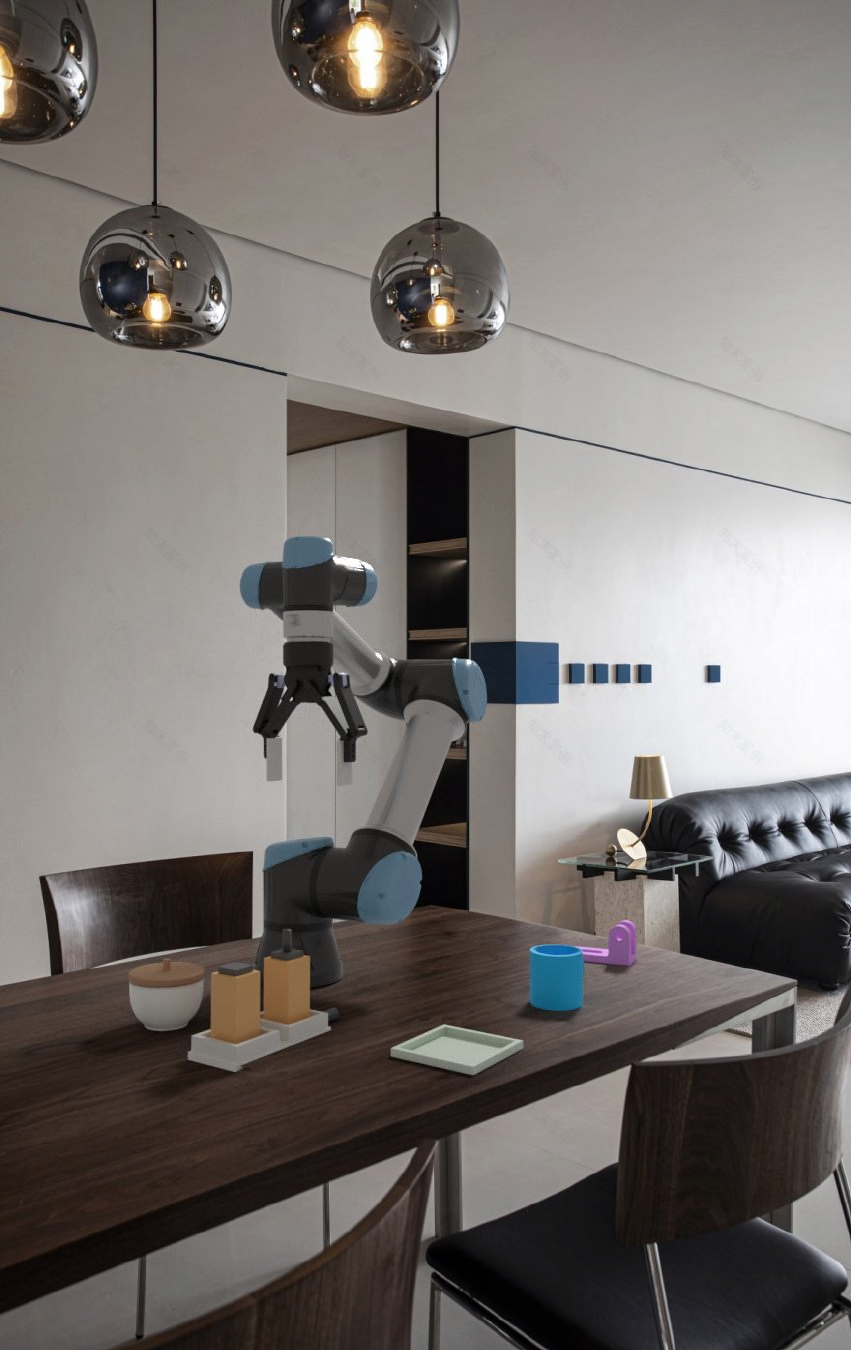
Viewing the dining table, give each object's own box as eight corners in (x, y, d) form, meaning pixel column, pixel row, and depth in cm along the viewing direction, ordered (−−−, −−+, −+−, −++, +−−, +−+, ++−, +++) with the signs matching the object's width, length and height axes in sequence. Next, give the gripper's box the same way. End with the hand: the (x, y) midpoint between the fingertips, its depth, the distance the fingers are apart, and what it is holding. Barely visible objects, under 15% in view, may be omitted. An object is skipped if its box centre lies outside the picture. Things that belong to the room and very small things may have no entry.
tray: (390, 1060, 143) (390, 1048, 143) (444, 1035, 153) (444, 1024, 153) (473, 1079, 136) (473, 1066, 136) (523, 1052, 146) (523, 1040, 146)
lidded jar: (137, 1040, 151) (138, 971, 151) (120, 1020, 160) (121, 955, 161) (213, 1029, 156) (214, 963, 156) (193, 1010, 165) (193, 947, 165)
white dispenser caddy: (234, 1072, 138) (235, 953, 138) (187, 1059, 143) (188, 945, 143) (357, 1023, 159) (357, 920, 159) (312, 1013, 164) (312, 914, 164)
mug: (565, 1014, 164) (565, 959, 164) (519, 1004, 169) (519, 951, 169) (605, 996, 174) (604, 945, 174) (560, 988, 179) (560, 937, 179)
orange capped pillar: (210, 1050, 144) (211, 967, 144) (234, 1041, 147) (235, 960, 147) (235, 1056, 141) (236, 972, 141) (259, 1047, 145) (260, 965, 145)
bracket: (636, 959, 199) (636, 921, 199) (629, 966, 193) (629, 927, 194) (567, 952, 204) (567, 915, 204) (558, 959, 199) (558, 920, 199)
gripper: (229, 642, 168) (230, 780, 168) (359, 637, 154) (359, 789, 154) (263, 643, 174) (263, 777, 174) (390, 639, 161) (391, 784, 160)
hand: (308, 783), depth 164 cm, fingers open, 13 cm apart
